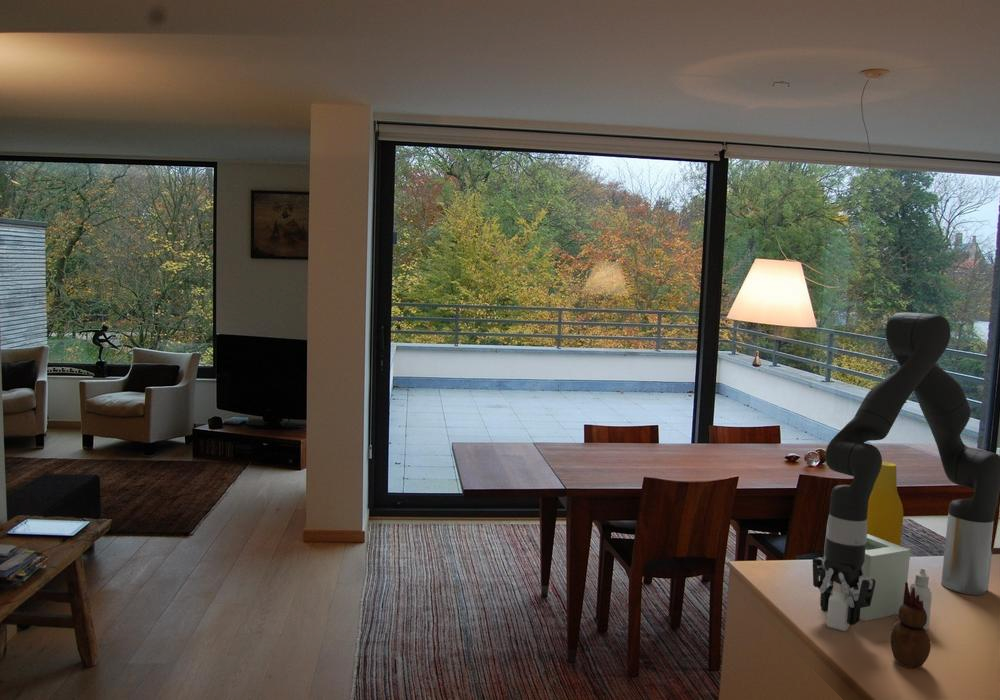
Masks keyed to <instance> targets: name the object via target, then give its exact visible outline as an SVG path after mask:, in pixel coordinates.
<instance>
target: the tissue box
mask: <svg viewBox="0 0 1000 700" xmlns="http://www.w3.org/2000/svg"><path fill="white" fill-rule="evenodd" d="M824 540H825V541H824V543H825V542H826V537H825V539H824ZM824 553H825V548H824V550H823V557H824V558H825V559H826V557H825V555H824ZM910 559H911V549H909V548H907V547H904V546H901V545H900V546H899V545H896V544H893V543H891V542H888V541H885V540H883V539H880V538H877V537H875V536H872V535H869V534H867V539H866V549H865V560H864V563H863V565H862V573H863V576H865V577H867V578H868V579H872V578H873V579H874V580H875V582H876V583H875V588H874V592H873V596H872V600H871V605H870V606H868V607H863V608H861V609H860V618H861V620H863V621H865V622H867V621H871V620H876V619H880V618H886V617H889V616H895V615H898V613H899V608H900V606H901V605H902V604H903V599H904V590H905V583H906V582H907V583H908V579H909V571H910V570H909V569H910ZM826 574H827V571H826ZM859 585H860V581H859ZM860 588H861V587H860ZM850 590H851V591H852V590H854V587H853V588H850ZM831 593H832V594H833V590H832V592H831ZM819 596H820V597H819V599H820V600H821V593H820V594H819ZM854 600H855V597H854Z"/></svg>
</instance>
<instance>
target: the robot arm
mask: <svg viewBox="0 0 1000 700" xmlns="http://www.w3.org/2000/svg"><path fill="white" fill-rule="evenodd" d="M950 326H951V325H950V323H949V321H948V319H947V318H946V317H944V316H943V315H940V314H934V313H925V312H897V313H894V314H893V315H892V316H890V317H889V318H888V320H887V323H886V325H885V338H886V342H887V343H886V344H887V345H888V348H889V350H890V351H891V353H892V355H893V357H894V359H895V360H896V362H897V363H898V365H899V368H897V369H896V370H895V371H893V372H892V373H890V374H889V375H888V376H887V377H885V378H884V379H882V380H880V382H878V383H877V384H875V385H874V386H873V387H872V388H871V389H870V390H869V392H868V393H867V394H866V396H865V397H864V398H863V399H862V400H863V401H862V402H861V404H860V406H859V407H858V409H857V411H856V413H855V415H854V417H853V418H852V419H851V420H850V421H849V422H848V423H847V424H846V425H845V426H844V427H843V428H842V429H841V430H840V431H839V432H837V434H835V435H834V436H833V438H831V440H830V442H829V443H828V445H827V446H826V449H825V453H824V459H825V463H826V466H827V467H828V468H829V469H830V470H832V471H834V472H836V473H838V474H843V475H847V476H852V477H853V478H852V482H851V483H850V484H839V485H836V486H834V487H833V488H832V489H831V494H830V500H829V501H830V504H829V513H828V518H827V521H826V533H825V538H826V542H825V541H824V549H825V553H824V552H823V556H821V557H815V558H813V559H812V584H813V587H814V588H818V590H819V592H820V594H821V599H820V602H819V605H820V609H821V611H822V612H823V613H824V612H825V613H828V603H829V597H830V595H831V594H832V593H831V592H832V590H833V584H834V581H835V582H837V583H840V584H842V586H843V590H844V593H845V595H846V596H847V598H848V601H849V605H850V606H849V607H848V618H847V623H848V624H850V625H849V626H853V625H856V624H858V623H859V622H860V621H861V620H860V609H861V608H863V607H868V606H870V605H871V600H872V596H873V592H874V588H875V583H876V582H875V580H874V579H873V578H872V579H868V578H867V577H865V576H863V573H862V565H863V563H864V560H865V549H866V539H867V512H868V501H869V498H870V495H871V492H872V490H873V487H874V484H875V482H876V479H877V477H878V475H879V473H880V470H881V466H882V462H883V459H882V458H883V457H882V454H881V452H880V450H879V448H877V446H875V445H873V444H870V443H867V442H870V441H881V440H884V439H885V438H886V437H887V436H888V434H889V433H890V431H891V429H892V427H893V425H894V424H895V422H896V420H897V418H898V416H899V414H900V413H901V411H902V409H903V407H904V406H905V404H906V402H907V401H908V399H909V397H910V396H911V395H912V394H913V393H914V395H915V397H916V399H917V402H918V405H919V407H920V410H921V412H922V414H923V416H924V419H925V420H926V422H927V425H928V427H929V429H930V432H931V434H932V436H933V439H934V442H935V444H936V447H937V450H938V454H939V457H940V460H941V465H942V468H943V471H944V473H945V476H946V477H947V479H948V480H949V481H950V482H952V483H953V484H955V485H958V486H961V487H966V488H970V489H973V490H974V492H973V496H972V497H970V498H962V499H961V498H959V499H955V500H954V499H953V500H951V501H950V502H949V506H948V514H947V522H946V523H947V525H946V533H945V543H944V552H943V562H942V572H941V582H940V583H941V585H942V586H943V587H945V588H947V589H949V590H952V591H955V592H958V593H962V594H967V595H973V596H974V595H975V596H977V595H984V594H986V593H987V590H989V584H990V576H991V575H990V573H991V564H992V556H993V551H992V549H991V548H992V541H993V539H992V538H993V530H994V521H995V514H996V511H997V507H998V504H999V497H1000V455H999V454H998V453H995V452H992V451H988V450H984V449H978V448H974V447H969V446H967V445H966V444H965V443H964V442H963V440H962V437H961V434H962V432H963V431H964V430H965V428H966V427H967V424H968V423H969V421H970V417H971V412H972V411H971V407H970V405H969V401H968V399H967V396H966V394H965V392H964V390H963V387H962V386H961V385H960V384H959V382H958V381H957V380H956V379H955V378H954V377H952V375H950V374H949V373H948V372H947V371H946V370H944V369H943V368H942V367H941V366H939V365H938V364H937V362H938V361H939V360H940V358H941V357H942V356H943V354H944V353H945V351H946V350H947V348H948V345H949V343H950V340H951V333H952V332H951V327H950ZM824 555H825V557H826V559H825V558H824ZM826 571H827V574H826ZM859 581H860V585H859ZM853 587H854V590H852V591H851V590H850V588H853ZM860 587H861V588H860ZM854 597H855V600H854Z"/></svg>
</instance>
